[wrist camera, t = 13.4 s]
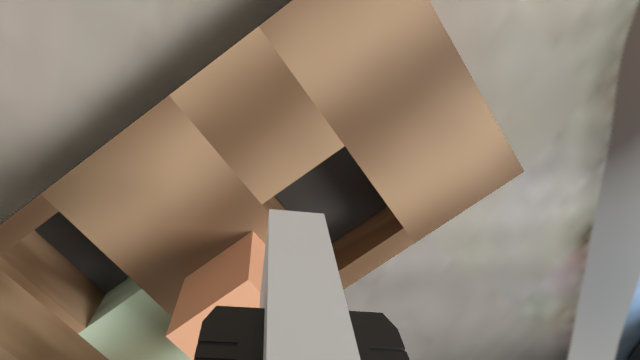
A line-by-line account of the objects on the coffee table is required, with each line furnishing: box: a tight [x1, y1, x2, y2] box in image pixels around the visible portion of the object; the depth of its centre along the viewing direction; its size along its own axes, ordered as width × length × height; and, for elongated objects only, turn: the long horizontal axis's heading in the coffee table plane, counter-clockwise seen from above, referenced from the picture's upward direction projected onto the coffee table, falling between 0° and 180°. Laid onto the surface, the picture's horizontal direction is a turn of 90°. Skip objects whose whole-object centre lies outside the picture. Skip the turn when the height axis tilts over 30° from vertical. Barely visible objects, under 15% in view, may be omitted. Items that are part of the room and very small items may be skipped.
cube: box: [166, 231, 265, 360], centre depth 19 cm, size 4×4×4 cm
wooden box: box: [0, 0, 524, 360], centre depth 20 cm, size 12×22×6 cm, turn 125°
